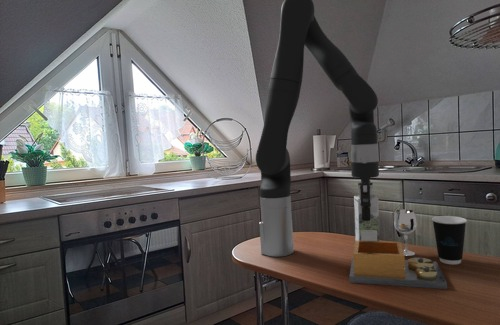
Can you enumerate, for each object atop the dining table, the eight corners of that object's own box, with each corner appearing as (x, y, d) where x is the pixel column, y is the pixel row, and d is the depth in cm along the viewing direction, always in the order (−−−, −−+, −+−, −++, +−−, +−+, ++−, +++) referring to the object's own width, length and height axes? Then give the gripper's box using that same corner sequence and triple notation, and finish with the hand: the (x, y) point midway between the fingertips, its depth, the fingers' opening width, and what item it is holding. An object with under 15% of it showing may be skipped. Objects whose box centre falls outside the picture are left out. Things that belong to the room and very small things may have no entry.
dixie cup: (444, 267, 87) (442, 223, 87) (426, 257, 95) (425, 216, 95) (475, 265, 88) (474, 221, 87) (455, 255, 96) (454, 214, 95)
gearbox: (349, 282, 82) (348, 254, 82) (352, 263, 94) (351, 239, 94) (447, 289, 75) (446, 259, 75) (436, 267, 88) (435, 241, 87)
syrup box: (374, 242, 105) (373, 194, 105) (380, 248, 100) (378, 197, 99) (355, 242, 106) (353, 194, 105) (359, 248, 100) (357, 197, 99)
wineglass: (416, 257, 96) (414, 213, 95) (393, 255, 99) (391, 212, 98) (418, 251, 100) (417, 209, 100) (397, 249, 103) (395, 208, 103)
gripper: (352, 159, 109) (354, 212, 110) (349, 162, 96) (351, 223, 97) (378, 158, 107) (379, 213, 108) (379, 161, 93) (380, 224, 94)
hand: (366, 217), depth 102 cm, fingers closed on syrup box, 6 cm apart
